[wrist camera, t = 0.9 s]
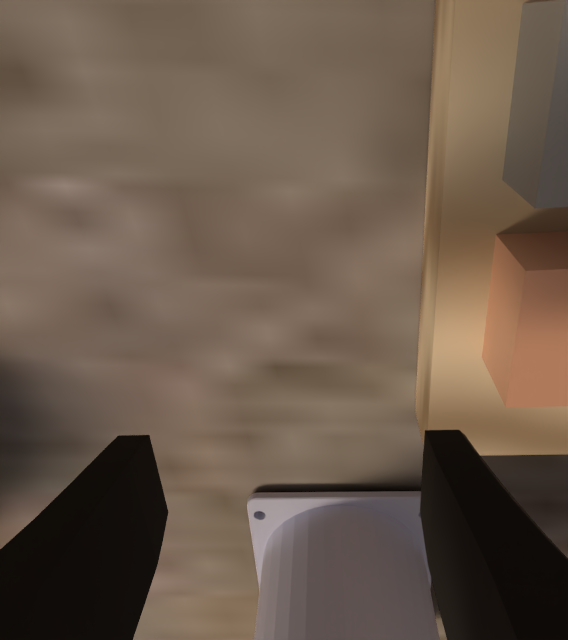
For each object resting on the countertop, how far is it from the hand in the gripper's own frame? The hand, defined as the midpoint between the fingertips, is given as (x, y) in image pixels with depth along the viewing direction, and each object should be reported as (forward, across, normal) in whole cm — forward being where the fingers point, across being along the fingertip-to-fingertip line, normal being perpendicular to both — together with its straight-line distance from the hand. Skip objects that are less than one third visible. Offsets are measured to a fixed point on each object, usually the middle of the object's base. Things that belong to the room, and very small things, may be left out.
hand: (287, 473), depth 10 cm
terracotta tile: (+7, -8, 0) cm, 10 cm away
